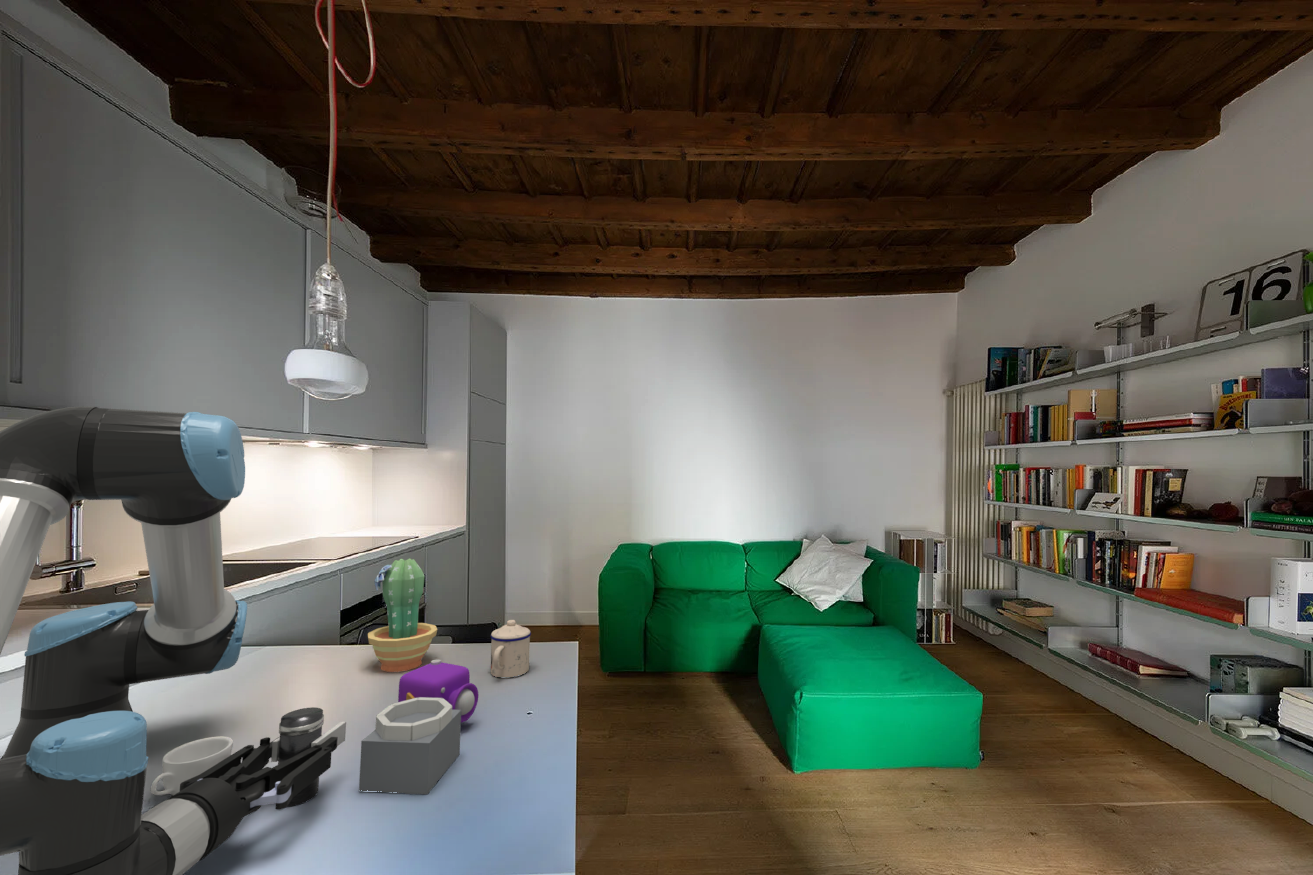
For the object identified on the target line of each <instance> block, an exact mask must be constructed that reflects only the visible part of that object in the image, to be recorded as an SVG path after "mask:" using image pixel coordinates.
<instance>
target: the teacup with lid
mask: <svg viewBox="0 0 1313 875" xmlns="http://www.w3.org/2000/svg"><path fill="white" fill-rule="evenodd" d="M531 635H532V632H531V630H530V629H529V628H528V627H525V626H522V625H520V624H517V621H516V620H515V619H509V620H507V622H506V624H504V625H502V626H501V627H499V628H497V629H495V630H493V631H492V632H491V634H490V638H491V644H490V646H491V648H490V674H491V676H493V677H494V676H495V678H497V677H513V676H518V675H522V674H524V673H526V672H527V671H528V672H529V671H530V648H531V647H530V642H531V641H530V640H531ZM528 672H527V673H528ZM527 673H526V674H527ZM524 675H525V674H524ZM522 676H523V675H522Z"/></svg>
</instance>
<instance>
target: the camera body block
mask: <svg viewBox="0 0 1313 875" xmlns="http://www.w3.org/2000/svg"><path fill="white" fill-rule="evenodd" d="M461 726H462V723H461V710H452V705H451V704H450V703H448V702H447V701H446V700H445V699H443V698H426V697H419V698H413V699H410V700H406V701H402V702H398V701H397V702H395V703H392V704H389V705H388V706H386V708H383V710H381V711H380V712H379V713H378V714H377V715H376V717H375V729H374V730H373V731H372V732H371V733H369V734H368V735H366V736H365V737H364V738H363V739H362V740H361V741H360V742H361V743H360V764H359V783H358V791H359V790H360V791H361V790H362V791H367V790H368V791H377V792H378V791H379V792H380V791H382V792H392V793H391V794H394V793H393V792H397V793H396V794H400V793H405V794H406V795H407V794H408V795H428V794H429V793H430V791H431V790H432V789H433V788H434V787H435V786H436V784H437V783H438V782H439V781H440V779H441V778H442V777H443V776H444V774H446V772H447V771H448V770H449V768H450V767H451V766H452V765H453V763H454V762H455V761H456V760H457V758H458V757H459V756H460V754H461V728H462V727H461ZM455 759H456V760H455ZM451 764H452V765H451ZM447 769H448V770H447ZM442 775H443V776H442ZM438 780H439V781H438ZM437 781H438V782H437ZM405 794H404V795H405Z"/></svg>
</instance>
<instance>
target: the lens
mask: <svg viewBox="0 0 1313 875" xmlns="http://www.w3.org/2000/svg"><path fill="white" fill-rule="evenodd" d="M324 718H325V714H324V710H323V709H322V708H321V707H304V708H299V709H295V710H293V711H292V710H291V711H290V712H288V713H285V714H284V715H282V716H281V718H280V721H279V724H278V734H279V737H280V741H279V756H278V761H277V765H278V764H280V763H282V762H284V761H286V760H288V759H290V758H292V757H294V756H296V755H298V754H299V753H301V752H303V751H305V750H307V749H309V748H311V743H312V742H313V741H315V740H316V739H318V738H319V737H320V736H322V735H323V725H324V721H325V720H324ZM319 783H320V776H319V777H318V778H317V779H315V780H314V781H313V782H312V783H310V784H309V785H308V786H307V787H305V788H304V789H303V790H302V791H300V792H299V793H298V794H297V795H295V796H294V797H293V798H292V799H291V801H290V803H289V804H288V806H287V807H286V808H289V807H296V806H299V805H302V804H305V803H306V801H307V802H309V801H310V800H312V799H314V798H315V797H316V796H317V795H316V794H318V793H319Z"/></svg>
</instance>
